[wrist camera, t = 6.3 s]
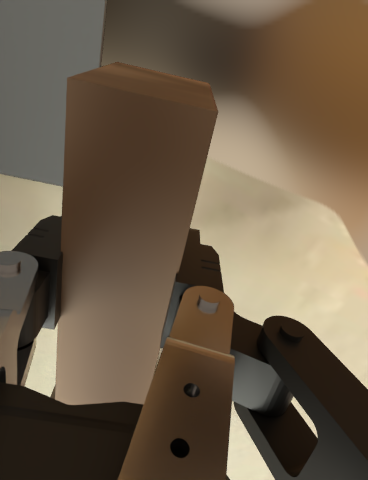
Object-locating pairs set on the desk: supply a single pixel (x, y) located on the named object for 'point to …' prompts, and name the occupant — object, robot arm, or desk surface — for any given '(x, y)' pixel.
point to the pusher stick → (124, 223)
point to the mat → (42, 79)
